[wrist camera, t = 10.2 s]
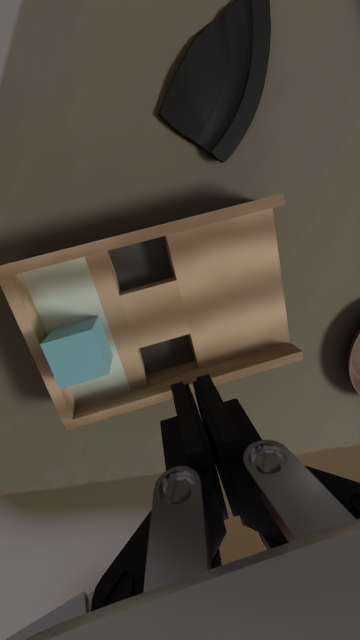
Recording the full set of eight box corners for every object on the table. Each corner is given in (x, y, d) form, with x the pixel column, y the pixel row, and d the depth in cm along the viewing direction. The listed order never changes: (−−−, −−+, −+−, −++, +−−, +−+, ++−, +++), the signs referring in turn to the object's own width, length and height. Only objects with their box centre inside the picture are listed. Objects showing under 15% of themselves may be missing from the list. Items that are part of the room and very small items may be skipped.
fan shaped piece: (297, 39, 27) (307, 27, 26) (222, 169, 29) (226, 165, 28) (229, -29, 25) (235, -47, 23) (153, 117, 27) (154, 110, 26)
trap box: (18, 262, 28) (-8, 267, 23) (258, 200, 30) (283, 193, 25) (77, 400, 34) (66, 430, 28) (278, 341, 35) (303, 359, 30)
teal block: (54, 328, 28) (39, 344, 24) (98, 315, 28) (91, 329, 24) (71, 367, 29) (60, 389, 25) (113, 354, 30) (108, 374, 25)
